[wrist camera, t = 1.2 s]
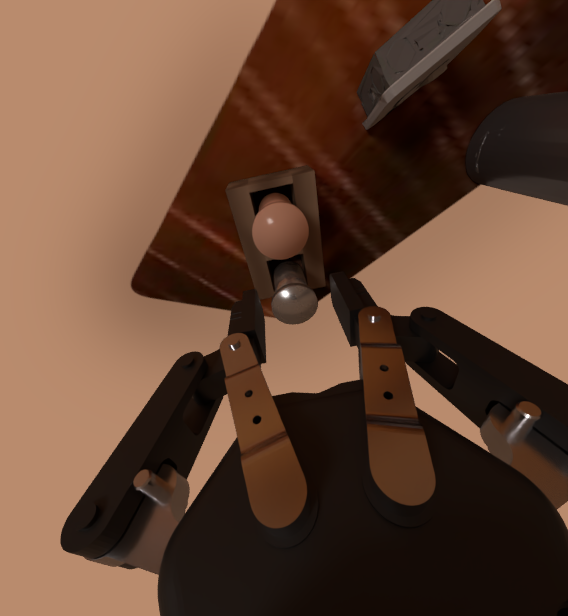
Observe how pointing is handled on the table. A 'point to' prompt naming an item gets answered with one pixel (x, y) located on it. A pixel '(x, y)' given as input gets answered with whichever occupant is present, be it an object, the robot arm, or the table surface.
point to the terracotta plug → (279, 227)
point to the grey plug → (292, 295)
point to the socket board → (246, 212)
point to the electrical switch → (420, 53)
